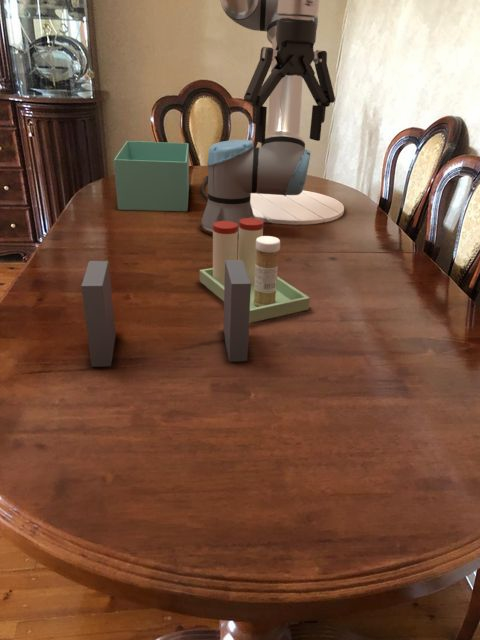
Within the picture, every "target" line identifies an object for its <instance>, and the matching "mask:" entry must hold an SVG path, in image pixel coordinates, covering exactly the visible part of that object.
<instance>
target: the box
mask: <svg viewBox="0 0 480 640" xmlns="http://www.w3.org/2000/svg"><path fill="white" fill-rule="evenodd" d="M189 149H190V148H189V143H187V142H169V141H167V142H165V141H163V142H162V141H141V140H126V142H125V143H124V144H123V146H122V147H121V149H120V150H119V152H118V153H117V154H116V156H115V157H114V159H113V166H114V167H113V168H114V179H115V189H116V190H115V191H116V202H117V203H116V204H117V210H118V211H122V210H123V211H151V212H153V211H155V212H188V209H189V193H190V192H189V191H190V163H189V162H190V157H189V156H190V155H189V154H190V151H189Z"/></svg>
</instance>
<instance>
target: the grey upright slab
mask: <svg viewBox="0 0 480 640" xmlns="http://www.w3.org/2000/svg"><path fill="white" fill-rule="evenodd" d="M250 294H251V282H250V280H249V277H248V274H247V271H246V268H245V266H244V263H243V260H238V259H237V260H225V284H224V301H223V333H224V343H225V347H226V352H227V358H228V361H229V362H230V363H232V362H234V363H235V362H247V361H248V356H249V353H248V351H249V334H250V333H249V332H250V331H249V330H250V323H249V315H250Z"/></svg>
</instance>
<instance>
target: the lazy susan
mask: <svg viewBox="0 0 480 640" xmlns="http://www.w3.org/2000/svg"><path fill="white" fill-rule="evenodd" d="M250 203H251V207H252V211H253V215H255V218H256V219H260V220H262V221H263V223H271V224H278V225H294V226H295V225H297V226H298V225H299V226H300V225H317V224H323V223H328V222H332V221H335V220H337V219H339V218H341V217H343V215H344V211H345V206H344V205H343V203H342V202H340V201H339V200H337V199H336V198H335V197H331V196H328V195H326V194H322V193H318V192H315V191H309V190H304V189H303V191H302V193H301V194H299V195H286V196H284V195H273V194H256V193H251V198H250Z"/></svg>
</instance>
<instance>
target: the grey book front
mask: <svg viewBox="0 0 480 640" xmlns="http://www.w3.org/2000/svg"><path fill="white" fill-rule="evenodd" d="M109 265H110V263H109V261H108V260H89V261H88V263H87V267H86V269H85V273H84V275H83V279H82V282H81V285H80V288H81V297H82V304H83V312H84V320H85V327H86V335H87V344H88V350H89V359H90V366H91V368H103V367H105V368H106V367H111V366H112V362H113V356H114V349H115V343H116V336H117V335H116V326H115V316H114V305H113V296H112V295H113V294H112V286H111V285H112V284H111V275H110V273H111V272H110V266H109Z"/></svg>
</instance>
